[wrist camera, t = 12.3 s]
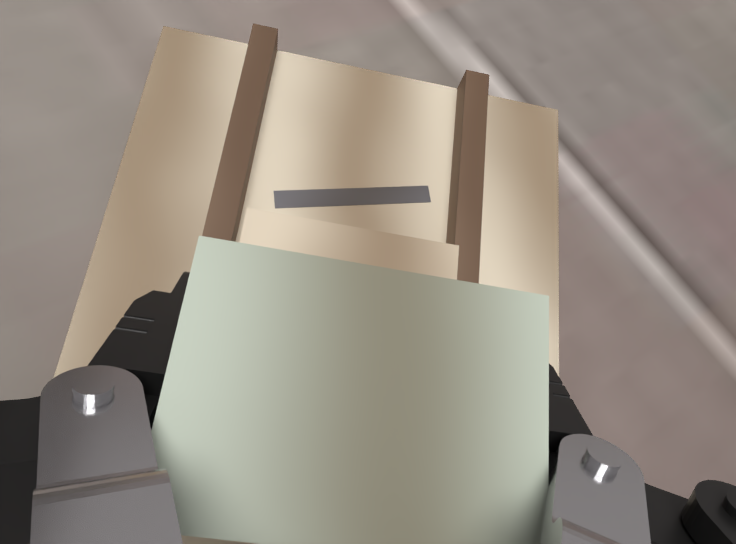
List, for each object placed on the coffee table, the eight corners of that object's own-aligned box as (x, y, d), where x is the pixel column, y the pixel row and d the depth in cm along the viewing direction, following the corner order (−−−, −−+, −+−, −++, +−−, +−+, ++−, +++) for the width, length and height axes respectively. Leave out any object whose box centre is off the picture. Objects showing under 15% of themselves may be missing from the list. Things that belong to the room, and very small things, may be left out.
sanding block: (168, 642, 13) (51, 840, 6) (249, 250, 17) (238, 72, 10) (397, 662, 14) (547, 865, 7) (429, 281, 18) (549, 137, 10)
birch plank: (-134, 1050, 11) (-219, 1172, 9) (169, 51, 20) (158, 2, 18) (535, 1054, 13) (586, 1161, 11) (543, 128, 22) (572, 92, 20)
